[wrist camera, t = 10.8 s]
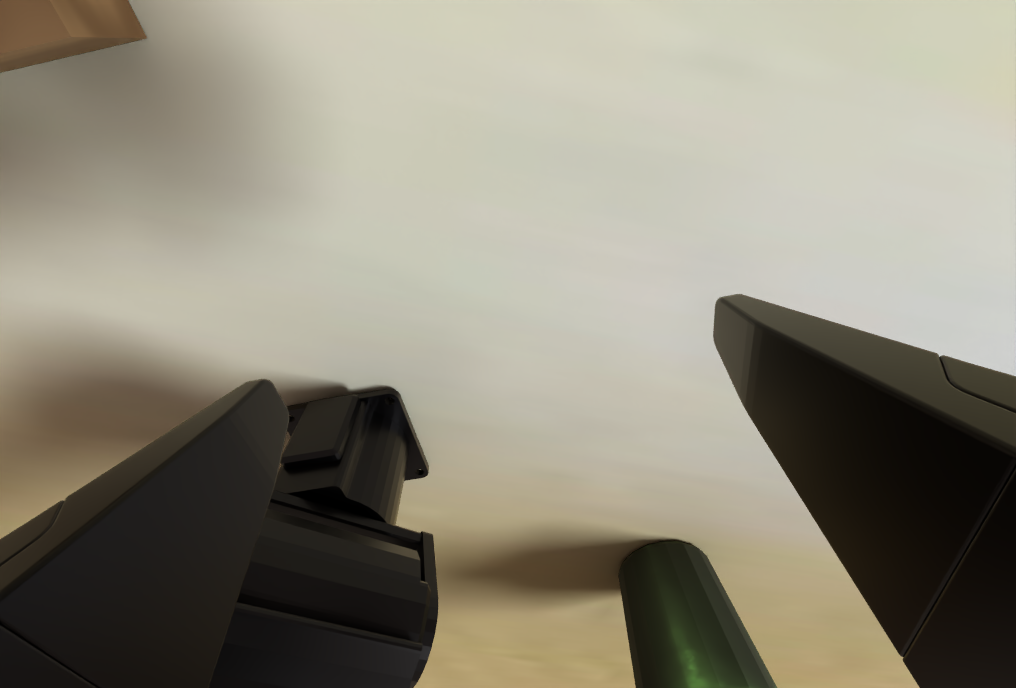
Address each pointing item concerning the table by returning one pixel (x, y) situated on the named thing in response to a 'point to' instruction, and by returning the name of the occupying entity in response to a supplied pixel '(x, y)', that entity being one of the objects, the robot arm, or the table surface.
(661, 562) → the potion bottle
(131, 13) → the block
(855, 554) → the robot arm
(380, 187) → the table surface
